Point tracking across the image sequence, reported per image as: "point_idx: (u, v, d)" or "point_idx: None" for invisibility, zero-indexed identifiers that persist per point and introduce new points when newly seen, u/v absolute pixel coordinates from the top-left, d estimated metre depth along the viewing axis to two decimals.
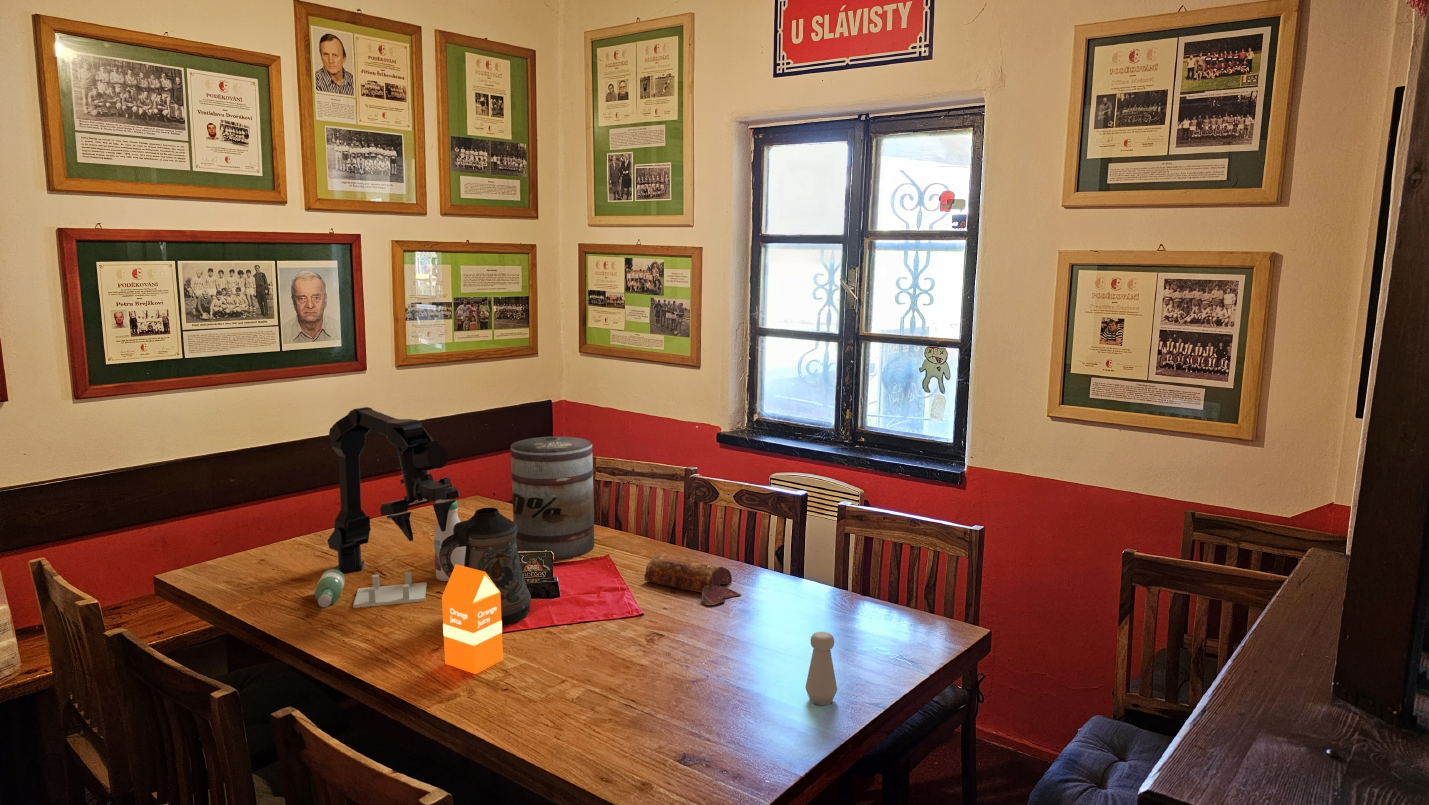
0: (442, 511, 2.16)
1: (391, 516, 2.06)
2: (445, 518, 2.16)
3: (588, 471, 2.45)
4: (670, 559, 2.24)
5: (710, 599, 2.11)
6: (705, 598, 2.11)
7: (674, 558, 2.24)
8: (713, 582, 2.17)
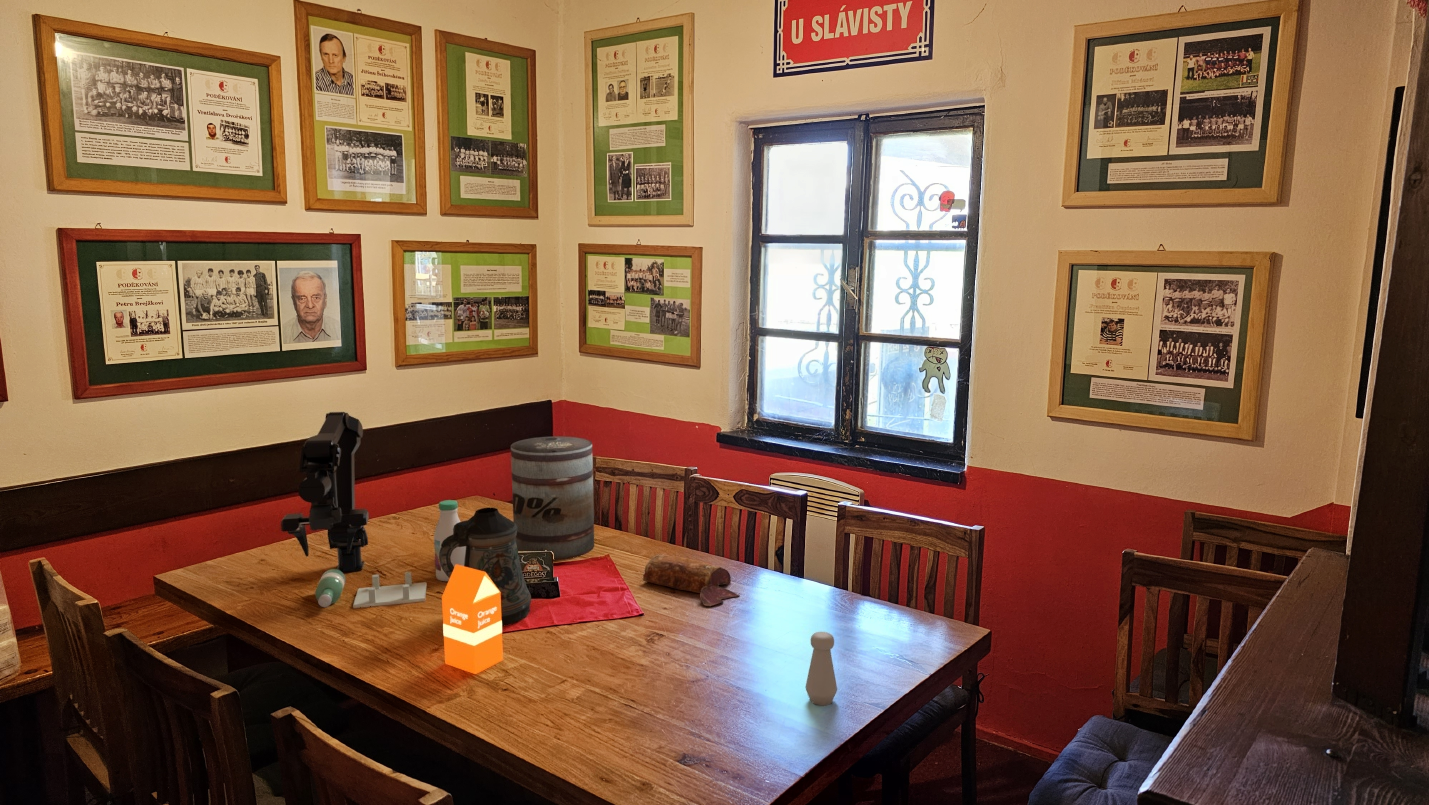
0: (348, 533, 2.12)
1: None
2: (349, 541, 2.12)
3: (588, 471, 2.45)
4: (669, 559, 2.23)
5: (708, 600, 2.11)
6: (703, 599, 2.10)
7: (673, 558, 2.24)
8: (712, 583, 2.16)
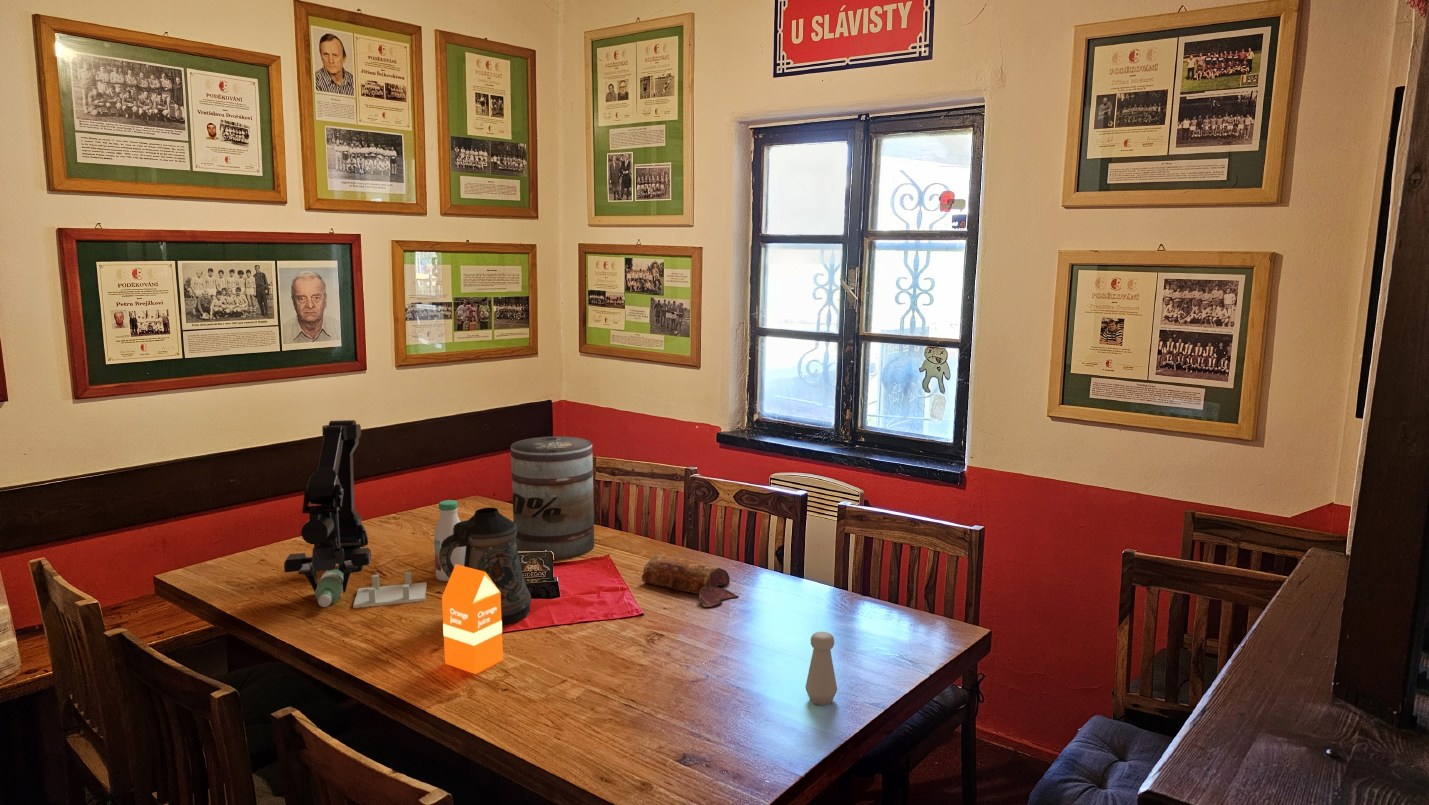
0: None
1: None
2: (345, 581, 2.13)
3: (588, 471, 2.45)
4: (667, 560, 2.23)
5: (707, 600, 2.10)
6: (702, 599, 2.10)
7: (672, 559, 2.23)
8: (711, 583, 2.16)
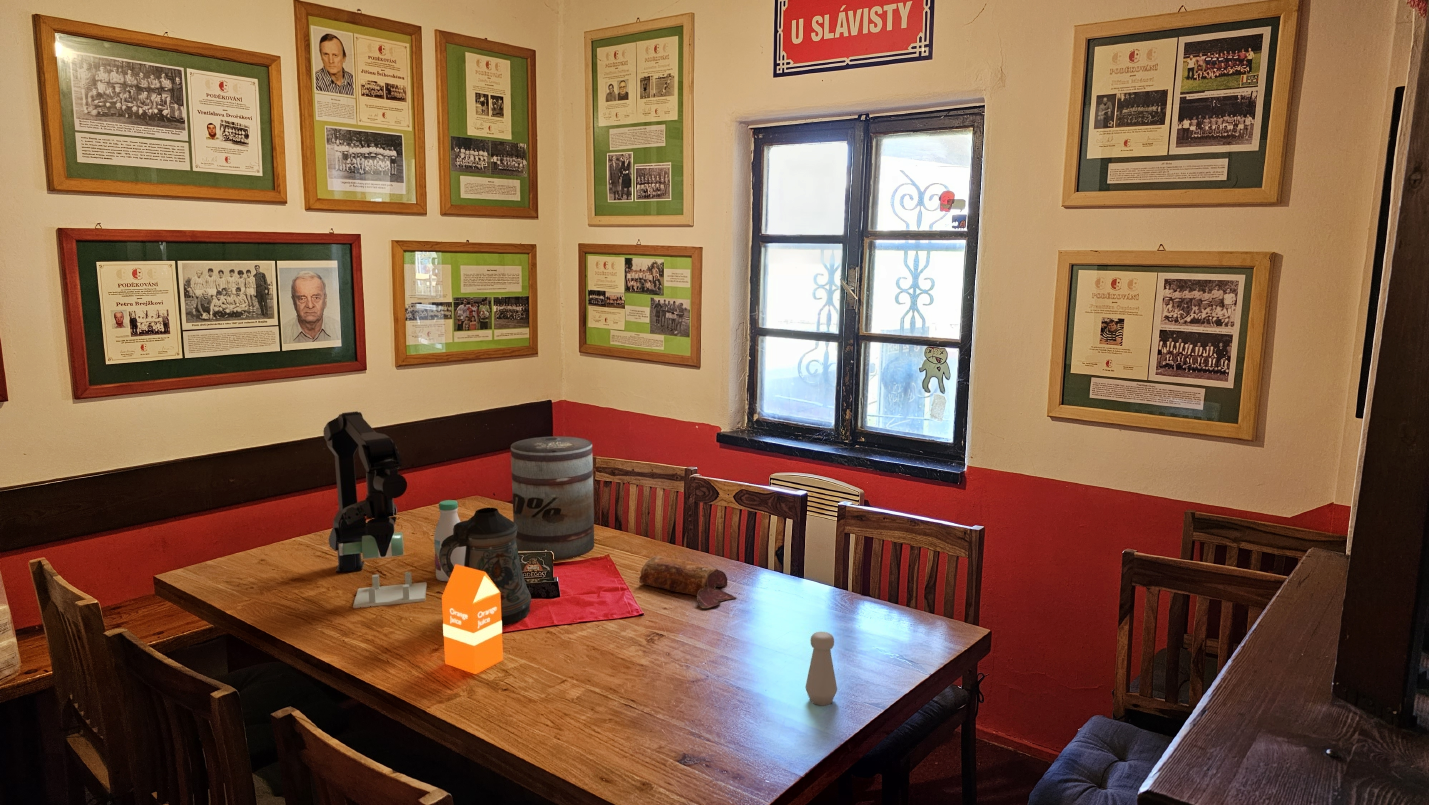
0: None
1: None
2: (377, 545, 2.09)
3: (588, 471, 2.45)
4: (665, 561, 2.22)
5: (705, 602, 2.09)
6: (700, 601, 2.09)
7: (669, 560, 2.22)
8: (708, 585, 2.15)
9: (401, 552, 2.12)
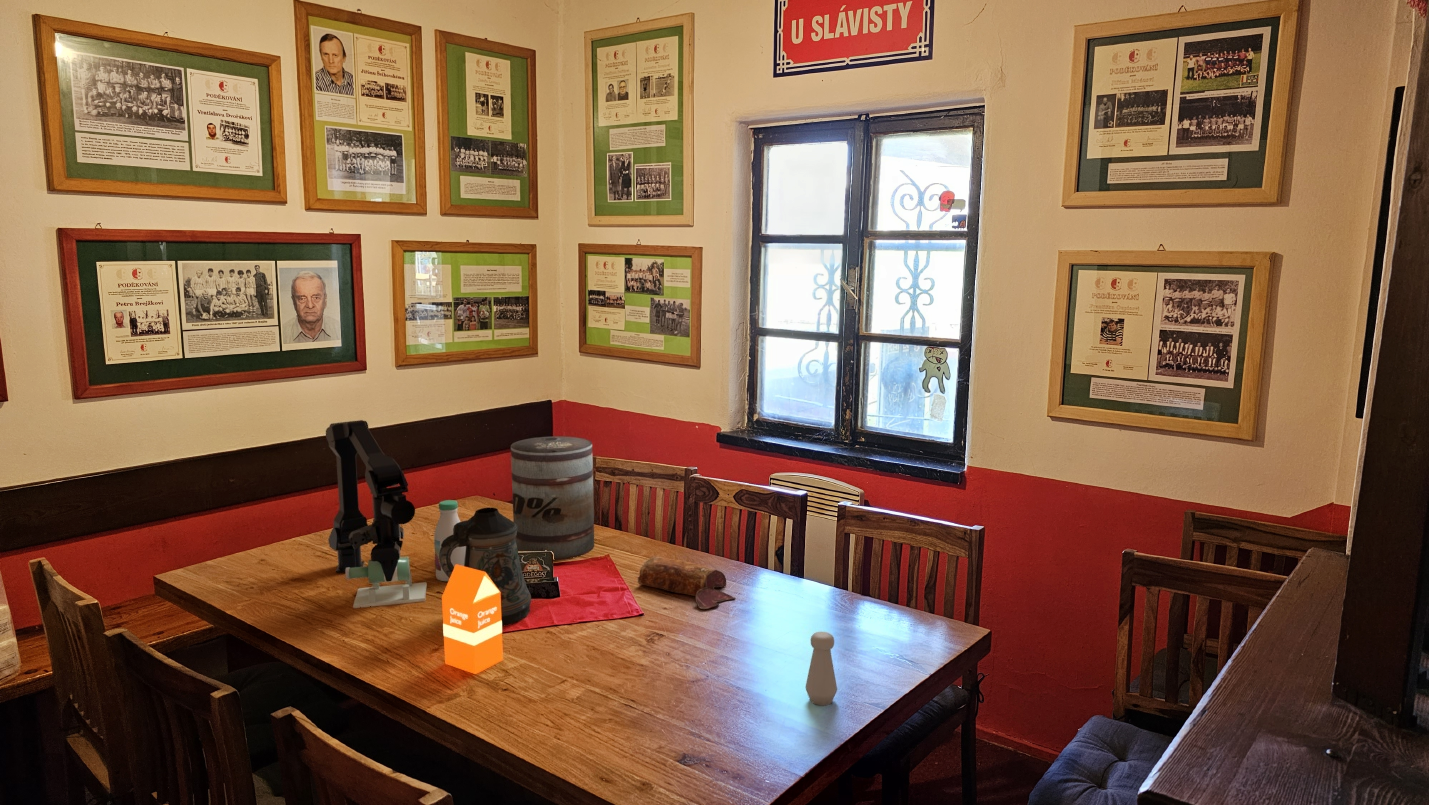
0: None
1: None
2: None
3: (588, 471, 2.45)
4: (664, 562, 2.21)
5: (704, 603, 2.09)
6: (699, 602, 2.08)
7: (668, 561, 2.22)
8: (707, 585, 2.14)
9: (407, 577, 2.13)
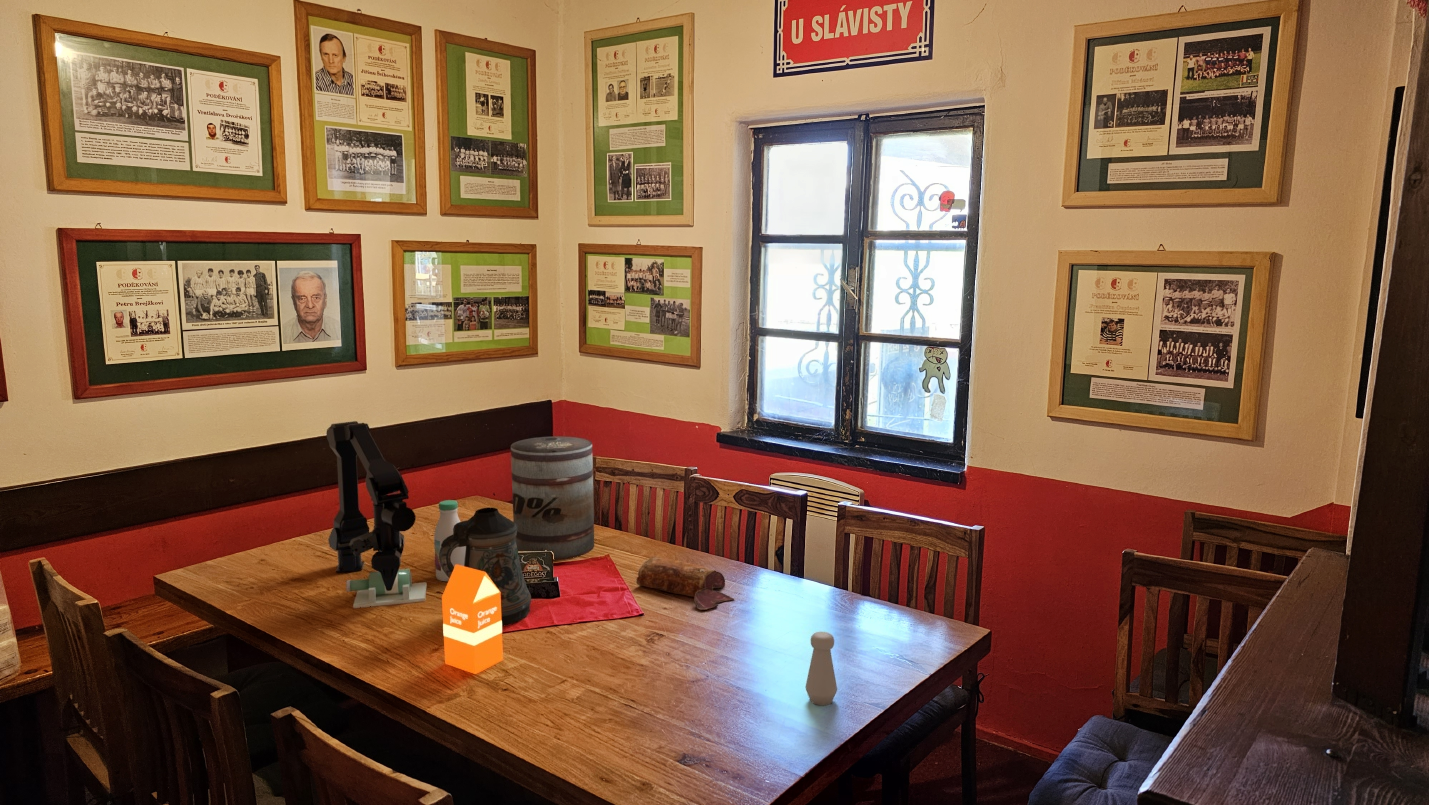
0: None
1: None
2: None
3: (588, 471, 2.45)
4: (662, 563, 2.21)
5: (703, 603, 2.08)
6: (698, 602, 2.08)
7: (667, 562, 2.21)
8: (706, 586, 2.14)
9: None
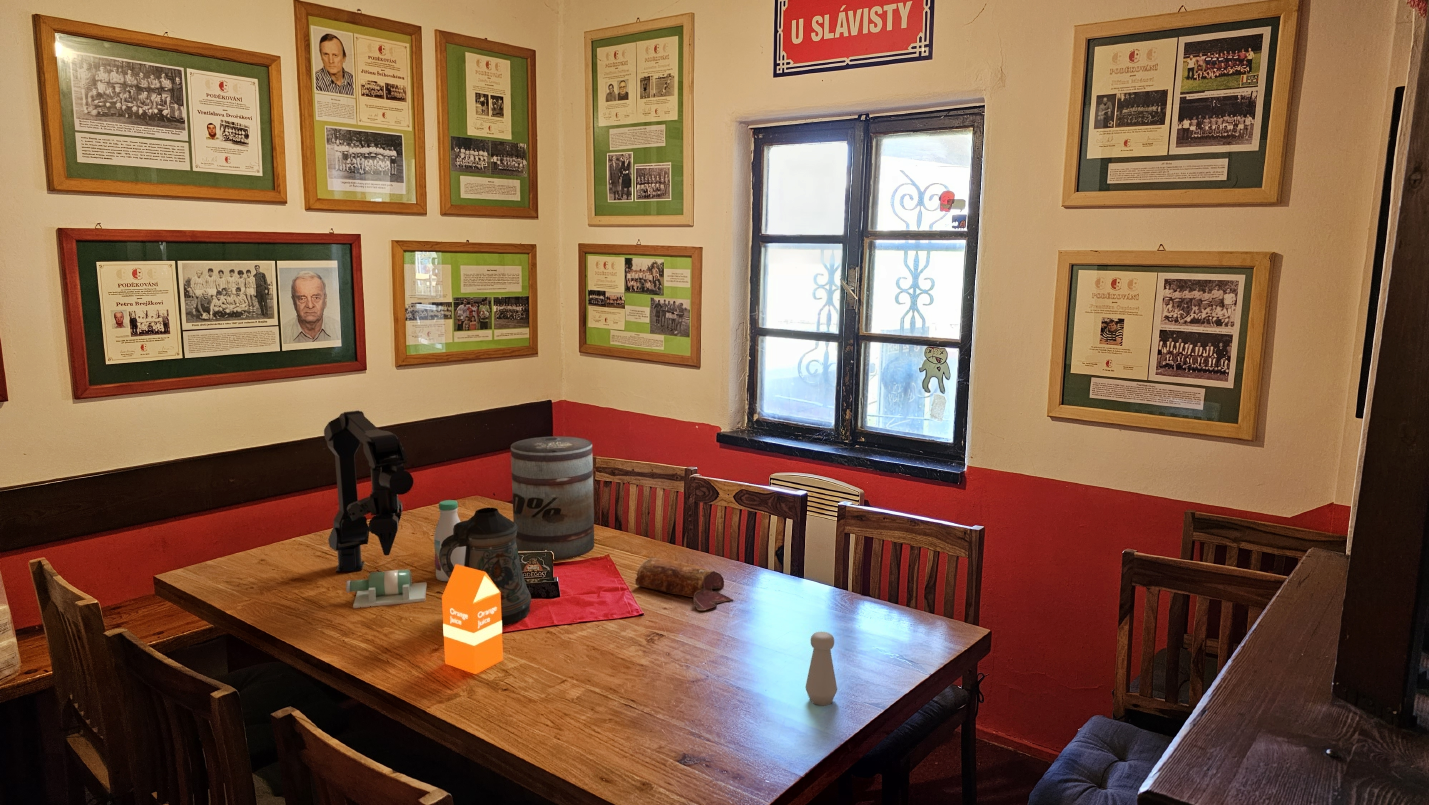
0: None
1: None
2: None
3: (588, 471, 2.45)
4: (661, 563, 2.20)
5: (702, 604, 2.08)
6: (697, 603, 2.07)
7: (666, 562, 2.21)
8: (705, 587, 2.13)
9: None
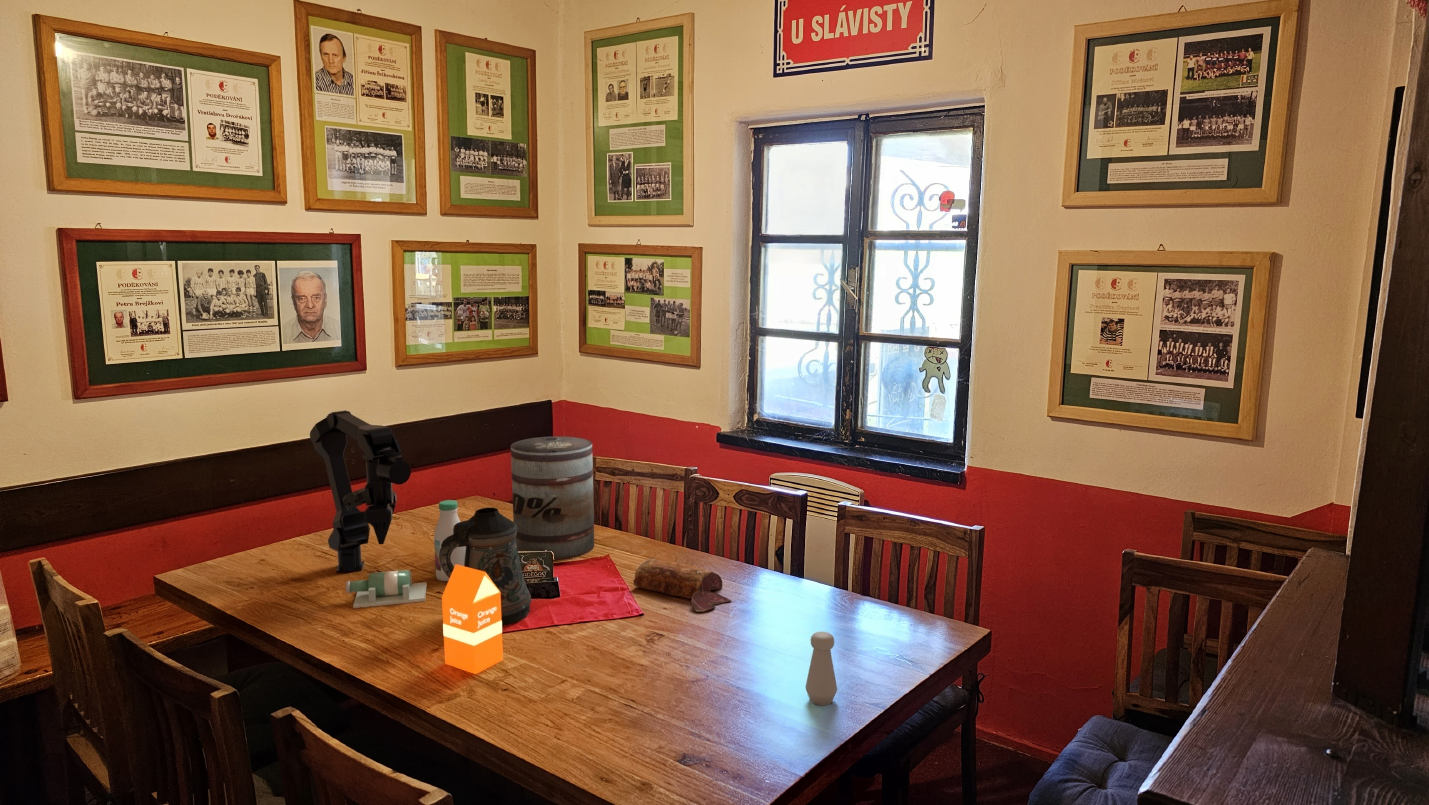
0: None
1: None
2: None
3: (588, 471, 2.45)
4: (659, 564, 2.20)
5: (700, 605, 2.07)
6: (695, 604, 2.07)
7: (664, 563, 2.20)
8: (703, 588, 2.13)
9: None
